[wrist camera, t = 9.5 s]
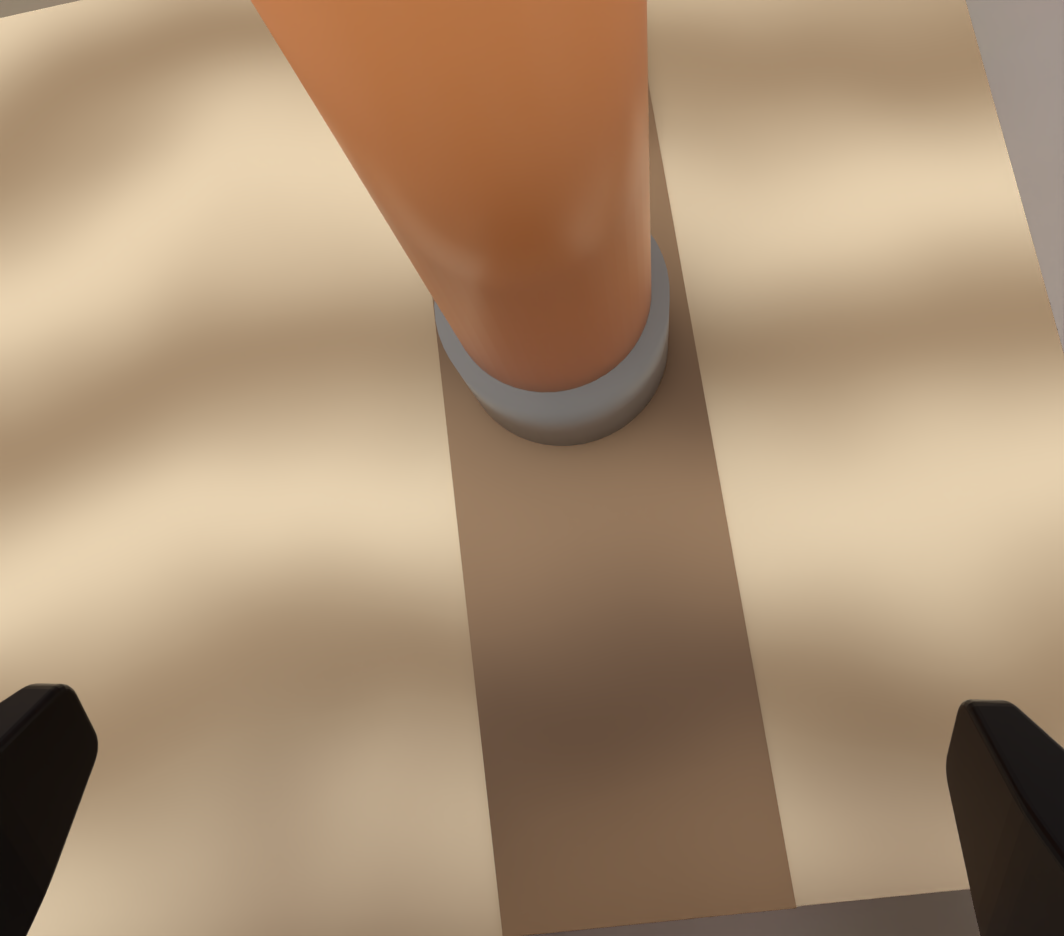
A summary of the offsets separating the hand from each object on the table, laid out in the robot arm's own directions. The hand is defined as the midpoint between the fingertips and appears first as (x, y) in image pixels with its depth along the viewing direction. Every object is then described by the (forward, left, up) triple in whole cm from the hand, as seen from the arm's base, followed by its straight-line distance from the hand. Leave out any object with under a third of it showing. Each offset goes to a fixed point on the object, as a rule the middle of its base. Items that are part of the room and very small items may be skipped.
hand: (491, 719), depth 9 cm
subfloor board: (+7, +2, -9) cm, 11 cm away
